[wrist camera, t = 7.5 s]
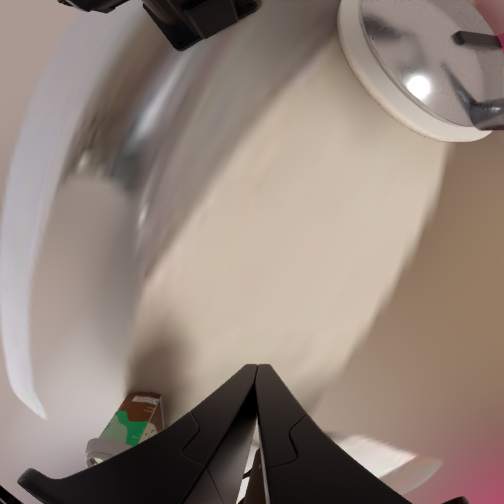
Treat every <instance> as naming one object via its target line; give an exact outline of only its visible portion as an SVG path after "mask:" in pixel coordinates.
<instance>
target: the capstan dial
mask: <svg viewBox="0 0 504 504" xmlns="http://www.w3.org/2000/svg"><path fill="white" fill-rule="evenodd" d="M358 17H359V23H360V27H361V30H362V33H363V36H364V38H365V41H366V43H367V45H368V47H369V49H370V51H371V53H372V55H373V57H374V58H375V60H376V61H377V63H378V64H379V66H380V67H381V69H382V70H383V71H384V73H385V74H386V75H387V77H388V78H389V79H390V80H391V81H392V83H393V84H394V85H395V86H396V87H397V88H398V89H399V90H400V91H401V92H402V93H403V94H404V95H405V96H406V97H407V98H408V99H409V100H410V101H411V102H413V103H414V104H415V105H416V106H417V107H419V108H420V109H422V110H423V111H424V112H426V113H427V114H429V115H430V116H432V117H434V118H436V119H438V120H439V121H442V122H444V123H447V124H449V125H453V126H457V127H465V128H467V127H475V128H476V129H478V130H480V131H496V130H504V55H503V52H502V49H501V48H503V47H502V45H501V42H500V40H499V38H498V36H495V35H494V33H493V31H492V30H491V28H490V27H489V25H488V24H487V22H486V21H485V20H484V18H483V17H482V16H481V14H480V13H479V12H478V11H477V10H476V9H475V8H474V7H473V5H472V4H471V3H470V2H469V1H467V0H359V4H358Z"/></svg>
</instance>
